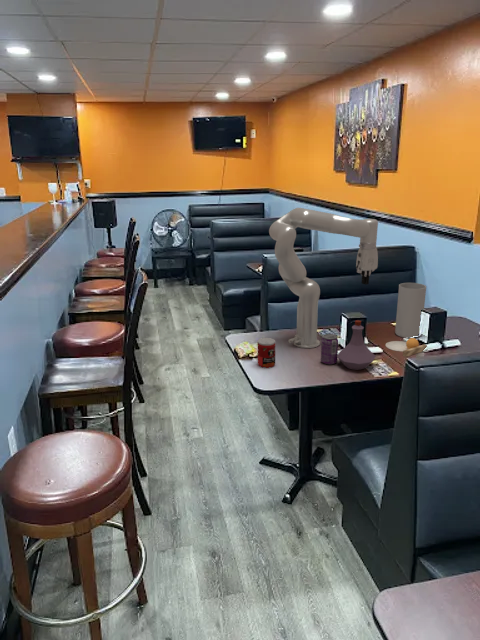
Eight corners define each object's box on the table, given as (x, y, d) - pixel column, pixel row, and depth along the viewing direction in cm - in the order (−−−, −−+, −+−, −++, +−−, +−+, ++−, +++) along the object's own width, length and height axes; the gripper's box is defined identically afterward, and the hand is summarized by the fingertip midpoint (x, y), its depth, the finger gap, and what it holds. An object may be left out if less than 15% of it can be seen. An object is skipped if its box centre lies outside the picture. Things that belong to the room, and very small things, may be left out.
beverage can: (338, 360, 219) (339, 334, 216) (335, 366, 213) (337, 339, 209) (322, 358, 222) (323, 332, 218) (319, 364, 215) (320, 338, 211)
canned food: (263, 369, 211) (263, 345, 208) (254, 363, 218) (254, 339, 214) (278, 366, 214) (279, 342, 211) (269, 359, 221) (269, 336, 218)
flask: (333, 358, 222) (335, 315, 215) (371, 358, 221) (374, 315, 214) (338, 373, 206) (340, 327, 200) (378, 373, 205) (382, 327, 199)
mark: (401, 353, 225) (401, 353, 225) (379, 345, 236) (379, 344, 236) (420, 347, 232) (420, 347, 231) (398, 339, 242) (398, 339, 242)
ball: (410, 353, 227) (415, 344, 224) (401, 345, 231) (406, 336, 227) (418, 351, 230) (423, 342, 227) (409, 343, 233) (414, 334, 230)
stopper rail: (405, 356, 221) (405, 351, 221) (402, 355, 223) (403, 350, 222) (426, 350, 228) (427, 345, 227) (423, 349, 229) (424, 344, 229)
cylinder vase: (423, 339, 242) (428, 289, 234) (396, 338, 244) (400, 288, 236) (419, 330, 254) (424, 283, 246) (393, 329, 256) (397, 282, 248)
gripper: (361, 248, 228) (359, 287, 233) (385, 245, 235) (382, 283, 241) (350, 246, 234) (347, 284, 240) (373, 243, 241) (370, 280, 247)
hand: (365, 283), depth 240 cm, fingers closed
